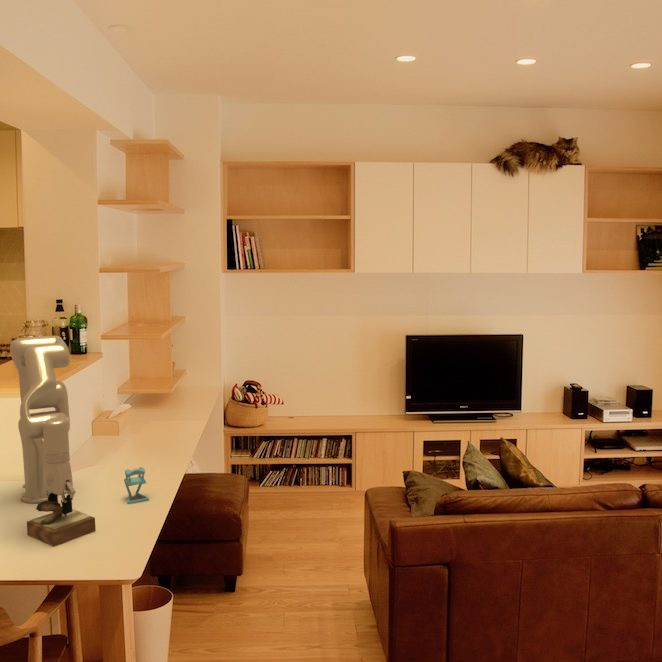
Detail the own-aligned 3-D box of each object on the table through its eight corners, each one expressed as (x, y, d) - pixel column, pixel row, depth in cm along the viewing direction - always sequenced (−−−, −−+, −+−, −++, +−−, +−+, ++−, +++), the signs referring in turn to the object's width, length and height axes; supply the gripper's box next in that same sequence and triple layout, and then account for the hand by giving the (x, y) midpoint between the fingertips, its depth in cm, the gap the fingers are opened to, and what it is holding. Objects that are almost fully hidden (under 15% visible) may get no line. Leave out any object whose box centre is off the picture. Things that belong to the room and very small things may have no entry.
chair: (143, 493, 275) (142, 462, 273) (149, 500, 267) (147, 468, 266) (122, 497, 271) (120, 465, 270) (127, 504, 264) (126, 471, 262)
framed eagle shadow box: (27, 534, 238) (26, 520, 237) (68, 520, 249) (68, 506, 249) (53, 546, 228) (53, 531, 228) (95, 530, 240) (94, 516, 240)
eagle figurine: (56, 508, 243) (31, 512, 236) (65, 492, 241) (40, 495, 234) (66, 525, 239) (41, 529, 232) (76, 509, 237) (51, 513, 230)
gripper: (31, 455, 238) (34, 507, 240) (62, 465, 227) (65, 520, 230) (52, 449, 244) (55, 501, 246) (83, 459, 233) (86, 512, 236)
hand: (60, 509), depth 238 cm, fingers open, 7 cm apart
